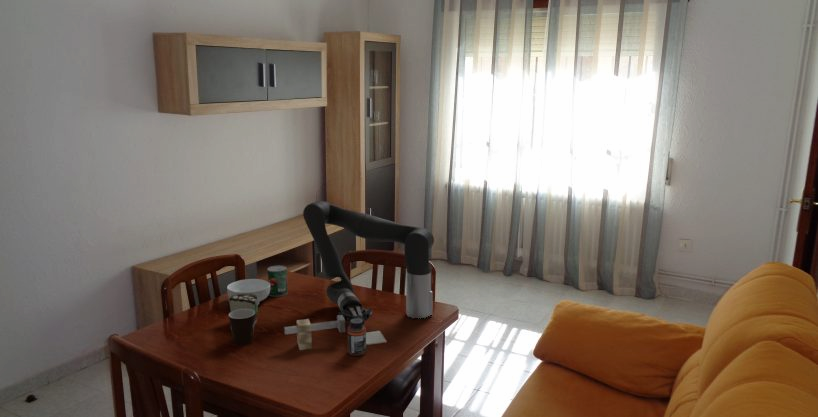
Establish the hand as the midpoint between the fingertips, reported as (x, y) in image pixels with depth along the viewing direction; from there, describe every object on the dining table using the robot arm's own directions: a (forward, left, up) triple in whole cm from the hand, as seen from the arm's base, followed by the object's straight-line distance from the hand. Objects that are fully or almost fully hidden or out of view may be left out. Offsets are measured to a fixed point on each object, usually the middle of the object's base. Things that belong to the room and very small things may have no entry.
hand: (361, 323), depth 203 cm
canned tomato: (+22, -56, -7) cm, 60 cm away
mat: (-3, -1, -6) cm, 7 cm away
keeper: (+19, -2, -6) cm, 20 cm away
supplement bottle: (+4, +8, -7) cm, 11 cm away
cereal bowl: (+34, -50, -7) cm, 61 cm away
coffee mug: (+38, -14, -7) cm, 41 cm away
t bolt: (+16, -2, -2) cm, 16 cm away
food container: (+36, -30, -7) cm, 47 cm away
